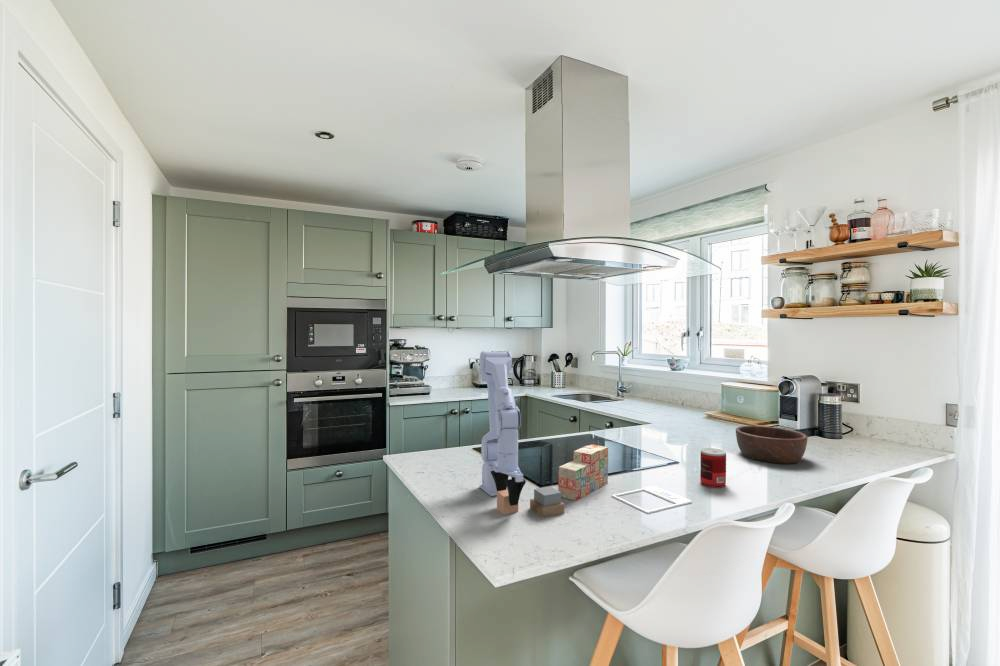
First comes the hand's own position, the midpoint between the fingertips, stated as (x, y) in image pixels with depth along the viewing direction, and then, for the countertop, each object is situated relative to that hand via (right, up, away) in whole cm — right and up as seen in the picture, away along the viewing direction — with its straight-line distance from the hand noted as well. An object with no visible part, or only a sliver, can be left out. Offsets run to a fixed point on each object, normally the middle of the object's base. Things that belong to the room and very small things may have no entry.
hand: (507, 500), depth 129 cm
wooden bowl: (+107, -3, +56) cm, 121 cm away
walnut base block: (+11, -3, 0) cm, 12 cm away
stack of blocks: (+25, -3, +17) cm, 30 cm away
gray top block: (+11, 0, 0) cm, 11 cm away
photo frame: (+43, -4, +9) cm, 44 cm away
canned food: (+69, -3, +23) cm, 73 cm away
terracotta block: (0, -3, 0) cm, 3 cm away
